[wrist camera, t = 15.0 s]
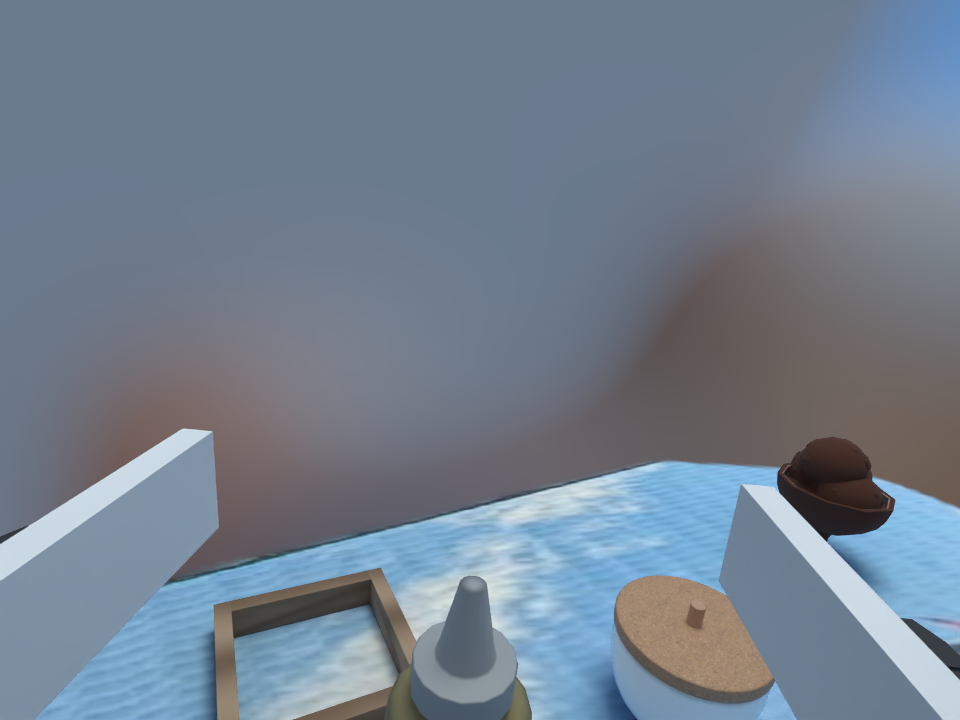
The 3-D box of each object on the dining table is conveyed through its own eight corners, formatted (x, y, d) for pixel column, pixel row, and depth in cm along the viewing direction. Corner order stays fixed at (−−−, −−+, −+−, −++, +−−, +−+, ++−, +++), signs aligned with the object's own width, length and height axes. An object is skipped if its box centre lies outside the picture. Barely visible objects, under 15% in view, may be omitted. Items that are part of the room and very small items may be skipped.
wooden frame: (435, 716, 36) (438, 687, 36) (220, 796, 30) (218, 763, 29) (379, 591, 48) (380, 567, 47) (214, 631, 41) (213, 604, 41)
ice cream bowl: (884, 605, 53) (931, 471, 49) (762, 569, 57) (797, 442, 53) (857, 550, 62) (894, 434, 59) (754, 522, 66) (783, 412, 63)
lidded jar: (569, 691, 39) (588, 585, 37) (653, 635, 46) (674, 542, 43) (699, 824, 31) (734, 699, 29) (780, 733, 38) (814, 625, 35)
